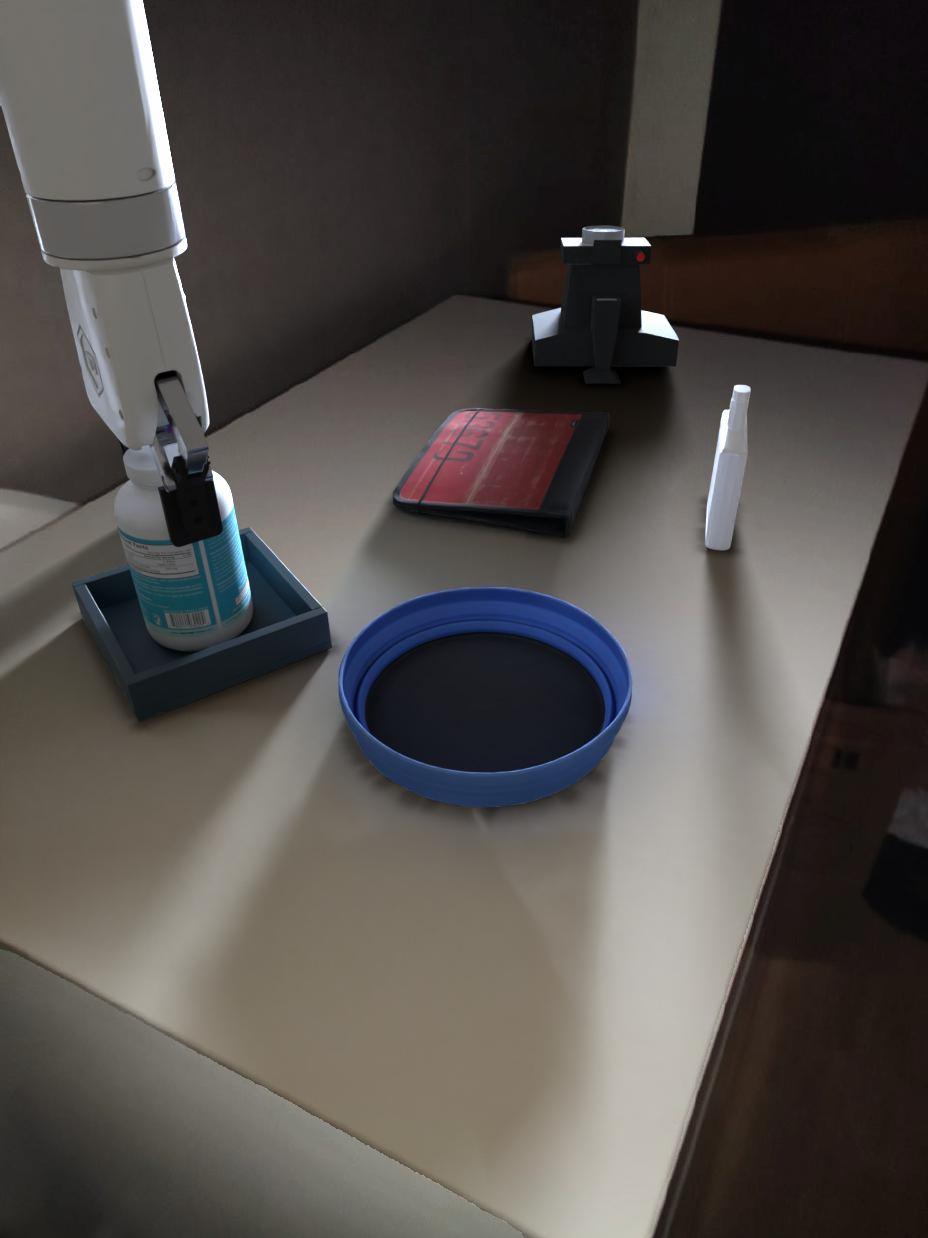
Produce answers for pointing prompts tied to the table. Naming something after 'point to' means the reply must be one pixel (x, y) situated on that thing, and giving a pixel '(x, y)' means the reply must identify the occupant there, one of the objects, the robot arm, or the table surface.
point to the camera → (603, 310)
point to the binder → (506, 468)
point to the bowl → (485, 694)
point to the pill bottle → (181, 564)
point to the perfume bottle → (728, 471)
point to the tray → (174, 678)
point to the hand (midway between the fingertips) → (175, 510)
